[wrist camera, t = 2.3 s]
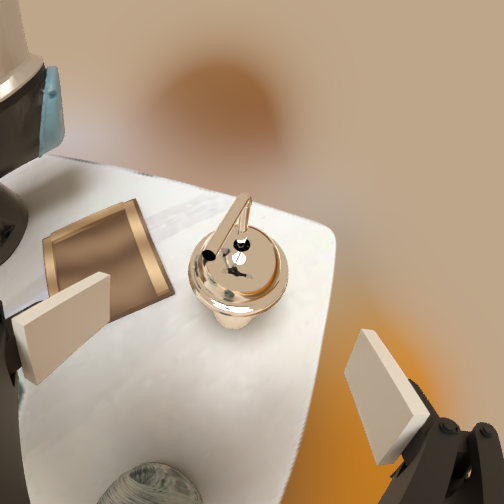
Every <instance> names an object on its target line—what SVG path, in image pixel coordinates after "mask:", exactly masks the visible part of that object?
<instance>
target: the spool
mask: <svg viewBox="0 0 504 504" xmlns="http://www.w3.org/2000/svg"><path fill="white" fill-rule="evenodd" d="M97 504H202V499H201V497H200V495H199V493H198V491H197V490H196V488H195V487H194V485H193V484H192V483H191V482H190V481H189V480H188V479H187V478H186V477H185V476H184V475H183V474H181V473H180V472H179V471H177V470H176V469H174V468H172V467H170V466H168V465H165V464H160V463H145V464H142V465H140V466H137V467H135V468H133V469H132V470H130V471H128V472H127V473H125V474H123V475H122V476H121V477H120V478H119V479H117V480H116V481H115V482H114V483H113V484H112V485H111V486H110V487H109V488H108V489H107V491H106V492H105V493H104V494H103V495H102V497H101V498H100V499H99V501H98V503H97Z"/></svg>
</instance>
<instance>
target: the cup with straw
mask: <svg viewBox="0 0 504 504" xmlns="http://www.w3.org/2000/svg"><path fill="white" fill-rule="evenodd" d="M251 205H252V198H251V196H250V194H248V193H245V192H243V193H241V194H239V195H238V197H237V198H236V200H235V201H234V203H233V204H232V206H231V207H230V209H229V210H228V212H227V214H226V215H225V217H224V218H223V220H222V221H221V223H220V224H219V226H218V228H217V229H216V231H214V232H212V233H210V234H208V235H207V236H206V237H204V238H203V239H202V240H201V241H200V242H199V243H198V245H197V246H196V247H195V249H194V251H193V253H192V256H191V259H190V263H189V271H188V275H189V281H190V285H191V287H192V289H193V292H194V293H195V295H196V296H197V298H198V299H199V300H200V301H201V302H202V303H203V304H204V305H205V306H206V307H208V308H210V309H211V310H213V313H214V315H215V317H216V319H217V321H218V322H219V323H220V324H221V325H222V326H224V327H226V328H229V329H240V328H242V327H244V326H246V325H247V324H248V323H249V322H250V321H251V320H252V318H253V317H254V316H255V315H258V314H260V313H263V312H265V311H267V310H268V309H270V308H271V307H273V306H274V305H275V304H276V303H277V302H278V301H279V300H280V299H281V297H282V295H283V293H284V292H285V289H286V286H287V283H288V263H287V259H286V257H285V254H284V252H283V251H282V249H281V247H280V246H279V245H278V244H277V243H276V242H275V241H274V240H273V239H272V238H271V237H269V236H268V234H266V233H265V232H264V231H262V230H261V229H259V228H257V227H254V226H251V225H248V224H249V217H250V210H251ZM238 219H239V220H238ZM237 221H238V224H236V222H237Z"/></svg>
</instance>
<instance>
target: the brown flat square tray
mask: <svg viewBox="0 0 504 504" xmlns="http://www.w3.org/2000/svg"><path fill="white" fill-rule="evenodd" d="M42 242H43V255H44V264H45V273H46V280H47V287H48V294H49V297H51V296H53V295H55V294H57V293H58V292H60V291H62V290H64V289H66V288H68V287H70V286H72V285H74V284H75V283H77V282H79V281H81V280H83V279H85V278H87V277H89V276H91V275H93V274H95V273H97V272H102V273H106V274H109V275H110V321H109V322H108V323H110V322H112V321H114V320H117V319H119V318H121V317H124V316H126V315H128V314H131V313H133V312H135V311H137V310H140V309H142V308H144V307H147V306H149V305H151V304H153V303H156V302H158V301H160V300H163V299H165V298H167V297H169V296H172V295H174V294H175V292H174V289H173V287H172V285H171V283H170V281H169V278H168V276H167V274H166V272H165V270H164V267H163V265H162V263H161V260H160V258H159V256H158V253H157V251H156V249H155V246H154V244H153V242H152V239H151V237H150V234H149V232H148V229H147V227H146V224H145V222H144V219H143V217H142V214H141V211H140V209H139V206H138V204H137V201H136V198H135V199H132V200H130V201H127V202H125V203H123V202H120V203H118V204H116V205H113V206H111V207H108V208H106V209H104V210H101V211H99V212H97V213H94V214H92V215H90V216H88V217H85V218H83V219H81V220H79V221H76V222H74V223H72V224H70V225H68V226H66V227H64V228H62V229H59V230H57V231H55V232H53V233H51V236H49V237H47V238H45V239H43V240H42ZM108 323H107V324H108Z"/></svg>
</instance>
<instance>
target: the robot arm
mask: <svg viewBox="0 0 504 504" xmlns="http://www.w3.org/2000/svg"><path fill="white" fill-rule="evenodd" d="M64 133H65V129H64V118H63V108H62V98H61V88H60V80H59V73H58V68H57V67H56V66H52V67H51V66H49V67H48V68H47V69H46V68H45V66H44V62H43V59H42V57H41V56H39V55H35V54H31V53H29V51H28V47H27V43H26V39H25V34H24V30H23V25H22V19H21V14H20V7H19V1H18V0H0V178H1V177H3V176H5V175H6V174H8V173H10V172H12V171H13V170H15V169H17V168H19V167H20V166H22V165H24V164H26V163H28V162H29V161H31V160H33V159H35V158H37V157H39V158H40V157H42V155H43V154H45V153H46V152H48V151H50V150H52V149H54V148H56V147H57V146H59V145H60V144H61V142H62V141H63V138H64ZM27 220H28V212H27V208H26V206H25V204H24V203H23V201H22V200H21V198H20V197H19V196H18V195H17V194H15V193H14V192H12V191H11V190H10V189H8V188H7V187H6V186H4V185H3V184H2V183H0V265H1V264H2V263H3V262H4V261H5V260H6V259H7V258H8V257H9V256H10V255H11V254H12V252H13V251H14V250H15V248H16V247H17V245H18V244H19V242H20V240H21V238H22V236H23V234H24V231H25V228H26V225H27ZM109 321H110V275H109V274H106V273H102V272H97V273H95V274H93V275H91V276H89V277H87V278H85V279H83V280H81V281H79V282H77V283H75V284H74V285H72V286H70V287H68V288H66V289H64V290H62V291H60V292H58V293H57V294H55V295H53V296H51V297H49V298H47V299H46V300H43V301H39V302H36V303H34V304H32V305H30V306H29V307H27V308H25V309H23V310H21V311H20V312H18V313H16V314H14V315H12V316H11V317H9V318H7V319H6V320H5V317H4V311H3V305H2V302H1V300H0V504H30V500H29V495H28V491H27V486H26V481H25V475H24V469H23V463H22V455H21V446H20V435H19V419H18V379H19V377H18V373H17V370H18V369H19V368H20V367H22V369H23V373H24V376H25V378H26V379H28V380H29V381H31V382H32V383H34V384H36V385H37V386H38V385H39V384H40V383H41V382H42V381H43V380H44V379H45V378H46V377H47V376H48V375H49V374H51V373H52V372H53V371H54V370H55V369H56V368H57V367H58V366H59V365H60V364H62V363H63V362H64V361H65V360H66V359H67V358H68V357H69V356H70V355H71V354H73V353H74V352H75V351H76V350H77V349H78V348H79V347H80V346H82V345H83V344H84V343H85V342H86V341H87V340H88V339H90V338H91V337H92V336H93V335H94V334H95V333H96V332H98V331H99V330H100V329H101V328H102V327H103V326H104V325H106V324H107V323H108V322H109ZM344 375H345V377H346V380H347V382H348V385H349V388H350V390H351V393H352V395H353V398H354V401H355V404H356V407H357V409H358V412H359V415H360V418H361V421H362V423H363V426H364V429H365V432H366V435H367V438H368V441H369V444H370V447H371V449H372V452H373V455H374V458H375V461H376V464H377V465H386V464H393V463H394V462H395V461H396V460H397V459H398V457H399V456H400V455H401V454H402V457H403V459H404V462H403V463H402V464H401V465H400V466H399V467H398V468H397V470H396V471H395V472H394V473H393V474H392V475H391V476H390V477H391V478H392V477H393V476H394V477H393V479H392V481H391V483H390V485H389V486H388V488H387V490H386V491H385V493H384V495H383V496H382V498H381V500H380V501H379V503H378V504H504V458H503V454H502V449H501V445H500V441H499V438H498V434H497V432H496V430H495V429H494V428H493V426H492V425H490V424H487V423H484V422H480V423H477V424H476V426H475V427H474V428H473V430H472V431H471V432H468V431H460V428H459V426H458V425H457V424H456V423H455V422H454V421H452V420H450V419H448V418H440V417H439V416H438V414H437V413H436V411H435V410H434V408H433V407H432V405H431V404H430V402H429V401H428V400H427V398H426V396H425V395H424V394H423V392H422V390H421V389H420V387H419V386H418V385H417V384H415V382H413V381H412V380H411V379H407V378H406V376H405V375H404V373H403V372H402V370H401V369H400V367H399V366H398V364H397V363H396V361H395V360H394V358H393V357H392V356H391V354H390V353H389V351H388V350H387V348H386V347H385V346H384V344H383V343H382V341H381V340H380V338H379V337H378V336H377V334H376V333H375V332H374V330H367V329H361V331H360V333H359V336H358V338H357V341H356V344H355V346H354V349H353V351H352V354H351V356H350V359H349V361H348V364H347V366H346V368H345V370H344ZM470 470H471V474H470V477H468V473H469V472H470Z"/></svg>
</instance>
